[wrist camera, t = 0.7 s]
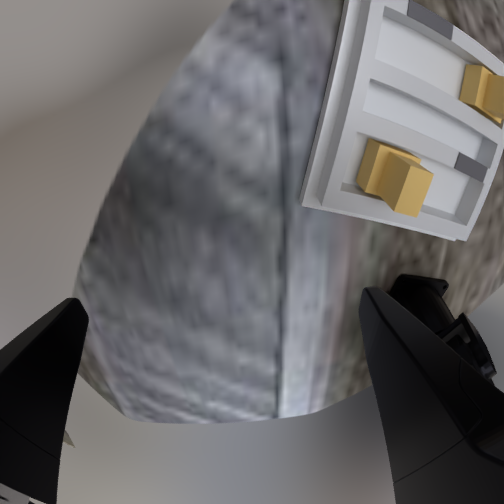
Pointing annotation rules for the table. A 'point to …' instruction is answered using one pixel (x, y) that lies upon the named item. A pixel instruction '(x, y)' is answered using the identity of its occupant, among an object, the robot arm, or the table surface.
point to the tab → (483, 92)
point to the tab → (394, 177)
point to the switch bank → (404, 117)
